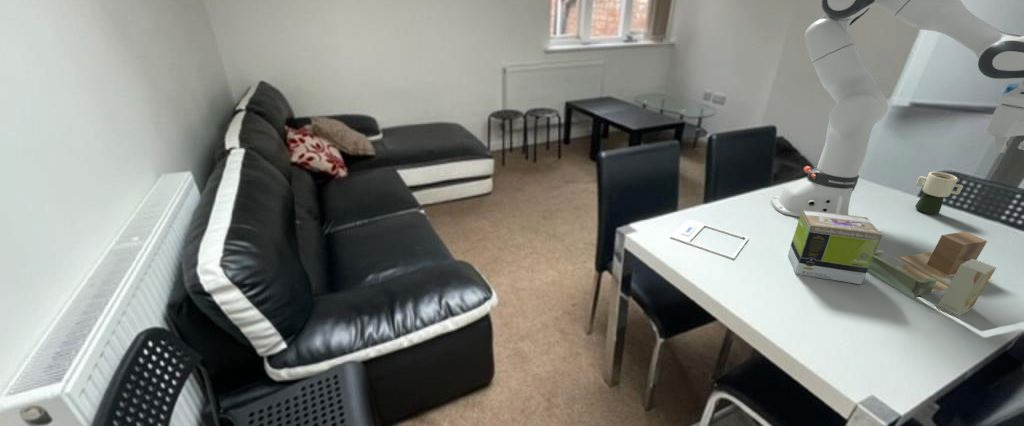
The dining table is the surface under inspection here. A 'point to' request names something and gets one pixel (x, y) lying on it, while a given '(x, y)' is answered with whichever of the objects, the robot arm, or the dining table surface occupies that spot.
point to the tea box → (833, 246)
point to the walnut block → (955, 251)
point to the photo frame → (694, 228)
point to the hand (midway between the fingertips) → (1010, 150)
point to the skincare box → (966, 287)
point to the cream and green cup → (936, 191)
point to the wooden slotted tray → (910, 274)
